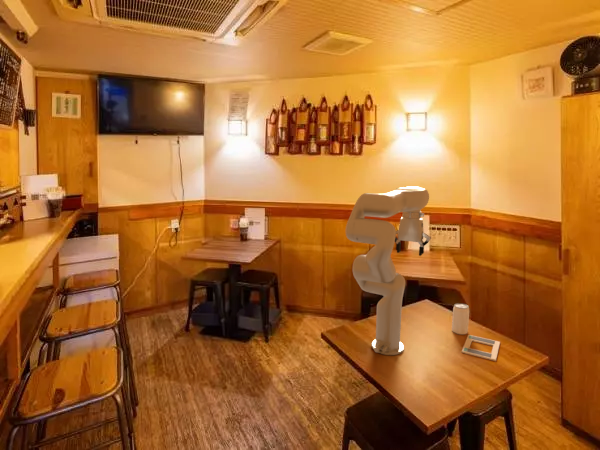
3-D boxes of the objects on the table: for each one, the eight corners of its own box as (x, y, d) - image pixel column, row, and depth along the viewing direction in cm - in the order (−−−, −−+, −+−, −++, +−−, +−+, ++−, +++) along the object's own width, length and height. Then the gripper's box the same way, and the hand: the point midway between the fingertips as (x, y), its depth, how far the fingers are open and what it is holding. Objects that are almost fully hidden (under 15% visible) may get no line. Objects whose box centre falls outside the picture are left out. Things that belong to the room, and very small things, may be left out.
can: (464, 328, 169) (466, 303, 166) (469, 335, 162) (471, 309, 160) (449, 327, 169) (451, 302, 167) (454, 334, 163) (456, 308, 161)
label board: (495, 361, 142) (496, 359, 142) (461, 352, 149) (461, 350, 148) (499, 343, 156) (500, 341, 155) (468, 335, 162) (468, 334, 162)
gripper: (434, 215, 162) (431, 254, 166) (394, 212, 172) (393, 249, 175) (429, 218, 156) (427, 258, 159) (389, 214, 165) (387, 252, 169)
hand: (409, 253), depth 167 cm, fingers open, 9 cm apart
